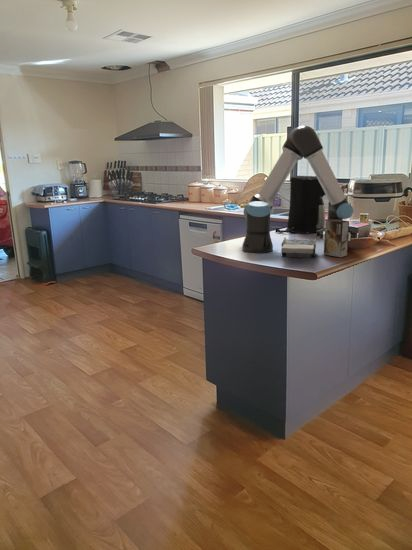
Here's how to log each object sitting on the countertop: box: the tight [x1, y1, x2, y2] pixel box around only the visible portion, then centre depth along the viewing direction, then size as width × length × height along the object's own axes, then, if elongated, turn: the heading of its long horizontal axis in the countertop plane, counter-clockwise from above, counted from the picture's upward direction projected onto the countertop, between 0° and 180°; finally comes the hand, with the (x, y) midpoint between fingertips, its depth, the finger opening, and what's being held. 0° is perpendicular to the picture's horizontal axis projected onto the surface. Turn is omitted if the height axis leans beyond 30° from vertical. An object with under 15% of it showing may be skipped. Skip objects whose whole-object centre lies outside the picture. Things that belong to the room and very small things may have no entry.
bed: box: [280, 237, 317, 259], centre depth 202 cm, size 15×15×7 cm
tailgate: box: [280, 244, 314, 254], centre depth 189 cm, size 13×2×13 cm
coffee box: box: [323, 219, 350, 258], centre depth 199 cm, size 9×6×16 cm
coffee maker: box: [275, 175, 326, 234], centre depth 263 cm, size 23×32×34 cm
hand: (336, 237), depth 195 cm, fingers closed on coffee box, 10 cm apart
